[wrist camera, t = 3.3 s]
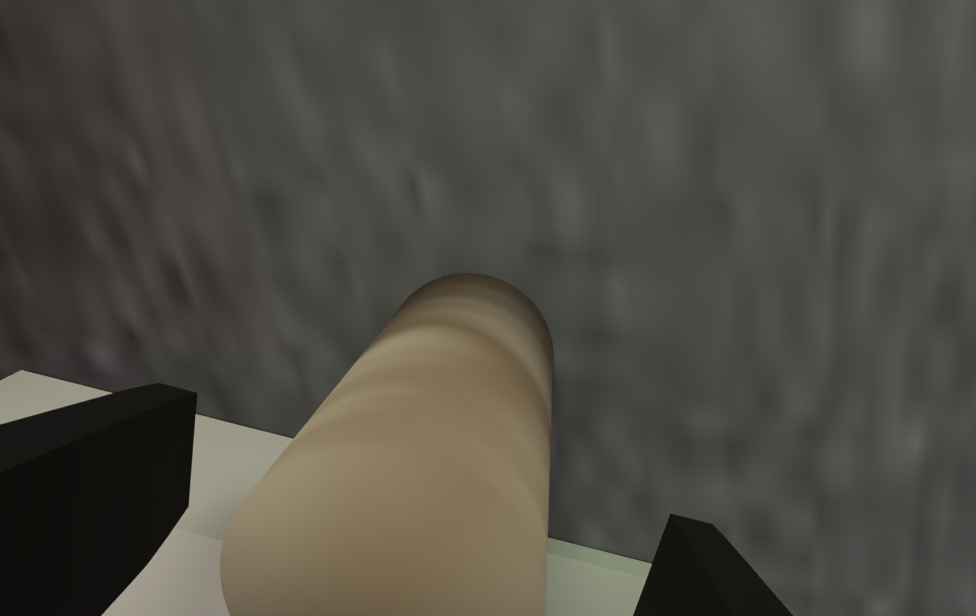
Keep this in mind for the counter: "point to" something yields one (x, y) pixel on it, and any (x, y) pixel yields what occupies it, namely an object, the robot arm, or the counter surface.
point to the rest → (591, 581)
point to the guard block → (212, 504)
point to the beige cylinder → (413, 473)
